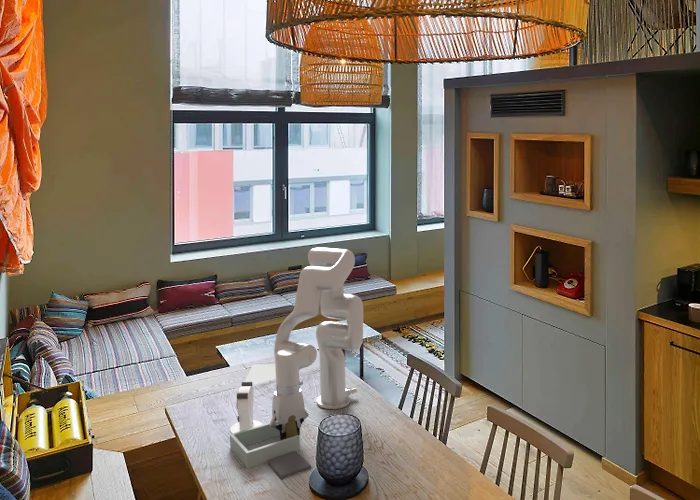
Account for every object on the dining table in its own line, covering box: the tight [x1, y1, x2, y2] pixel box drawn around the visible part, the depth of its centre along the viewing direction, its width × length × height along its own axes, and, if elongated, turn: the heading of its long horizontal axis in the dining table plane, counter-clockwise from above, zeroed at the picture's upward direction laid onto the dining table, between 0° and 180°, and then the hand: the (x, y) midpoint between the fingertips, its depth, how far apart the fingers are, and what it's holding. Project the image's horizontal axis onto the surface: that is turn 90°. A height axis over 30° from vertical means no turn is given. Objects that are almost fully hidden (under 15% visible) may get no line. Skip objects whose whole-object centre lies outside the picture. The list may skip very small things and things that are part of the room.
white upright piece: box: [229, 381, 264, 434], centre depth 200 cm, size 12×11×15 cm
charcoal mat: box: [266, 451, 312, 480], centre depth 177 cm, size 10×10×1 cm
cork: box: [285, 415, 298, 439], centre depth 191 cm, size 6×6×11 cm
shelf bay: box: [229, 421, 301, 469], centre depth 187 cm, size 18×14×5 cm
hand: (290, 439), depth 192 cm, fingers closed on cork, 3 cm apart
